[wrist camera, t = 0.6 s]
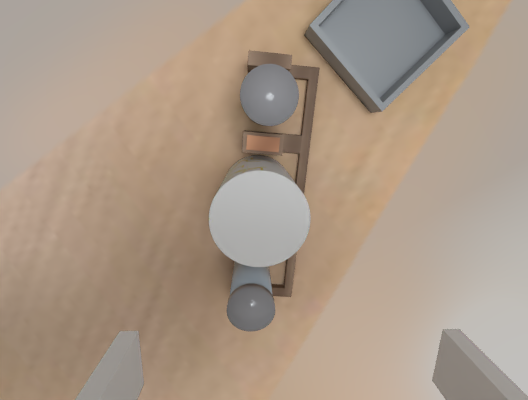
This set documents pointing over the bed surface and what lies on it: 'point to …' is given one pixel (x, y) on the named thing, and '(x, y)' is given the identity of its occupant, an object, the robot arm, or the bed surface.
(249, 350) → the bed surface
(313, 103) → the clip rack
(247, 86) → the grey rounded cylinder
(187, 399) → the bed surface
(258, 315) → the fuse
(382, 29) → the tray
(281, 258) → the light grey canister
